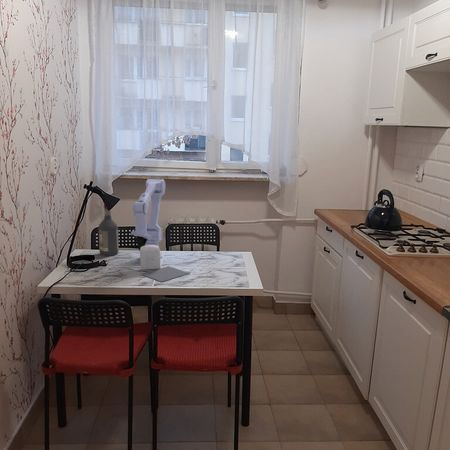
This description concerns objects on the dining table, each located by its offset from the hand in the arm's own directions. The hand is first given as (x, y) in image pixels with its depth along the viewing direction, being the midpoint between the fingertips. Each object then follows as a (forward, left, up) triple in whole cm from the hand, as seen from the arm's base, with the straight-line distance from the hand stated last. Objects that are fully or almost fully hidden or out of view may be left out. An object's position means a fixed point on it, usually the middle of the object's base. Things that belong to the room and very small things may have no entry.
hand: (141, 250), depth 230 cm
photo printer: (+7, 0, -8) cm, 11 cm away
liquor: (-32, +1, -9) cm, 33 cm away
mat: (+19, 0, -8) cm, 21 cm away
